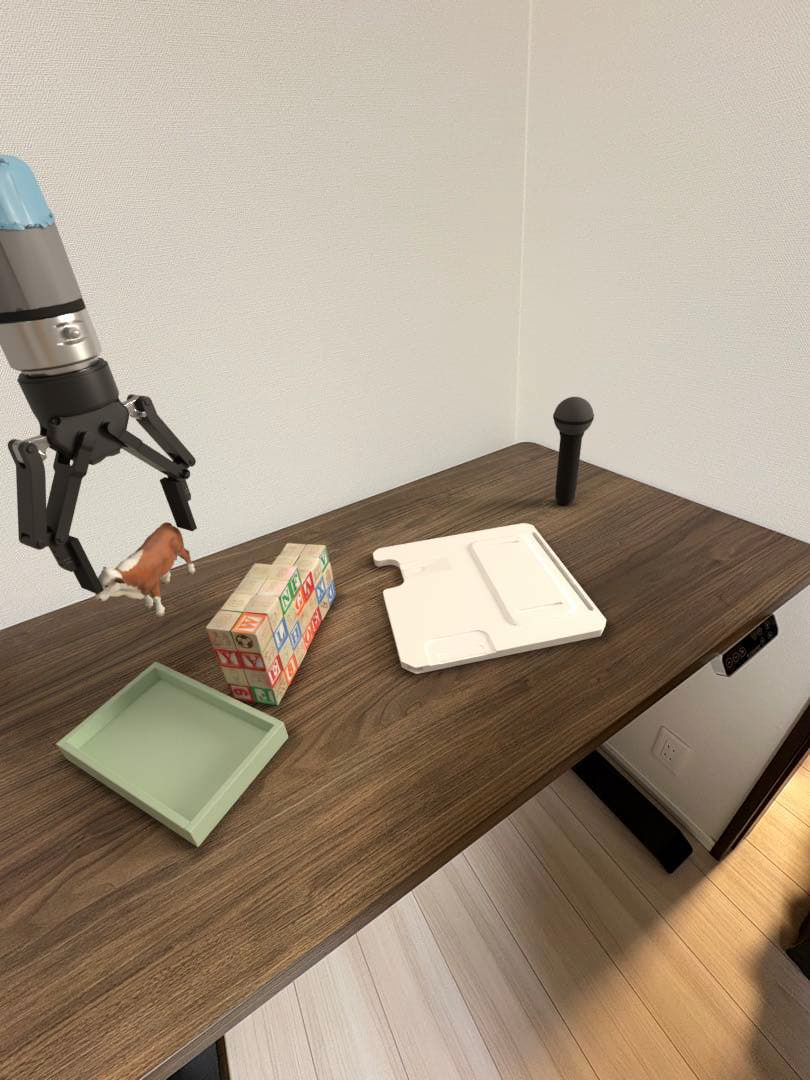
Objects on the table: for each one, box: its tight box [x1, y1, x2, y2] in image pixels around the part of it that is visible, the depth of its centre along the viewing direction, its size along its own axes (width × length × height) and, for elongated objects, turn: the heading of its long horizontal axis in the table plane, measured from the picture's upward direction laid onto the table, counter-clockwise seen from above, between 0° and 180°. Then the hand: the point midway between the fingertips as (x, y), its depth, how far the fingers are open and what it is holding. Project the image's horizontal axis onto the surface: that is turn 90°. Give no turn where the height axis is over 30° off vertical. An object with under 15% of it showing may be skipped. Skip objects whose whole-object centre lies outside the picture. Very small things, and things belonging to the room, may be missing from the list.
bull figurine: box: [94, 522, 196, 618], centre depth 61 cm, size 4×13×8 cm, turn 167°
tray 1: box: [55, 661, 289, 848], centre depth 60 cm, size 22×14×3 cm, turn 61°
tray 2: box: [372, 522, 607, 675], centre depth 79 cm, size 28×28×2 cm
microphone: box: [552, 396, 595, 506], centre depth 93 cm, size 7×7×20 cm
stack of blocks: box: [205, 542, 337, 707], centre depth 70 cm, size 21×6×12 cm, turn 167°
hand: (143, 556), depth 60 cm, fingers closed on bull figurine, 12 cm apart
